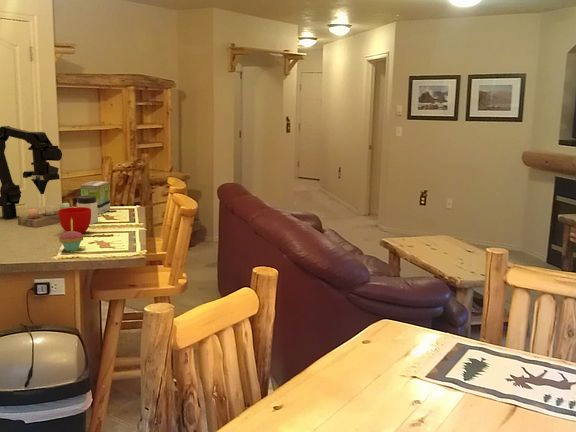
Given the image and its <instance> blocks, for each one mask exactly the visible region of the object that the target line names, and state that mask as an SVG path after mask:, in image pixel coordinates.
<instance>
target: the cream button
mask: <svg viewBox="0 0 576 432" xmlns="http://www.w3.org/2000/svg"><path fill="white" fill-rule="evenodd" d="M55 211H56V210H55V206H54V205H45V206H44V213H45V215H46V216H52V215H55Z"/></svg>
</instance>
